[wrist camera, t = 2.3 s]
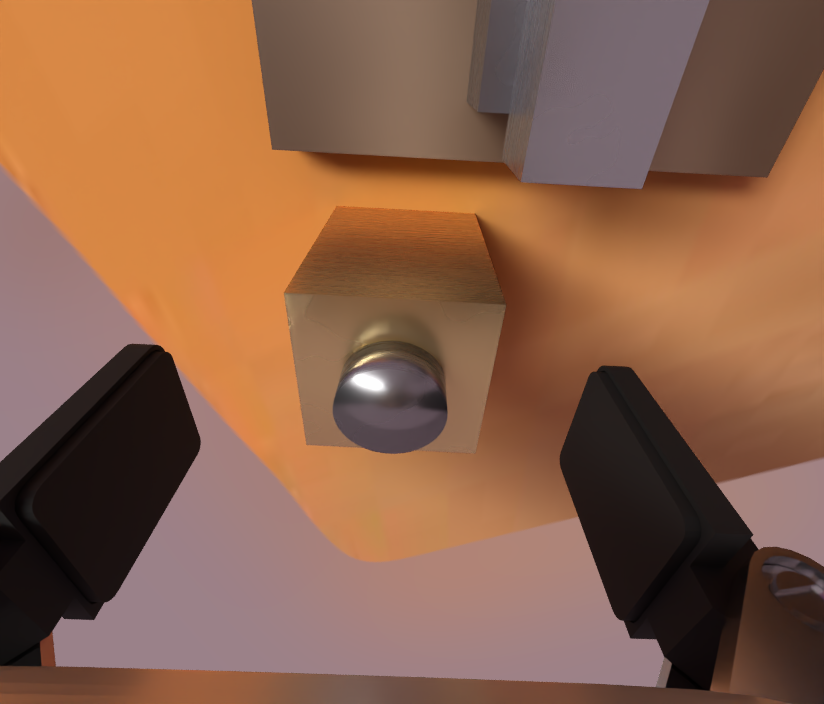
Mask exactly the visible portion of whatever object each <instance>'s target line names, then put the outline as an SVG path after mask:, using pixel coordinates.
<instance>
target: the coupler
mask: <svg viewBox="0 0 824 704" xmlns="http://www.w3.org/2000/svg"><path fill="white" fill-rule="evenodd" d="M284 297H285V303H286V310H287V317H288V323H289V330H290V337H291V344H292V350H293V357H294V364H295V371H296V377H297V384H298V391H299V397H300V404H301V411H302V418H303V424H304V431H305V438H306V445H319V446H339V447H358V448H366V449H368V450H372V451H375V452H380V453H391V454H397V453H406V452H411V451H414V450H417V451H437V452H457V453H476V448H477V444H478V439H479V434H480V429H481V424H482V419H483V415H484V410H485V405H486V400H487V395H488V391H489V386H490V381H491V376H492V371H493V367H494V362H495V357H496V352H497V347H498V342H499V338H500V333H501V328H502V323H503V318H504V314H505V309H506V302H505V299H504V297H503V294H502V291H501V288H500V285H499V282H498V279H497V276H496V273H495V270H494V267H493V264H492V262H491V259H490V256H489V253H488V250H487V247H486V244H485V241H484V238H483V235H482V232H481V229H480V227H479V224H478V221H477V218H476V215H475V214H471V213H453V212H435V211H418V210H400V209H382V208H364V207H346V206H336V208H335V210H334V211H333V213H332V214H331V216H330V218H329V219H328V221H327V223H326V224H325V226H324V228H323V229H322V231H321V233H320V234H319V236H318V237H317V239H316V241H315V242H314V244H313V246H312V247H311V249H310V251H309V252H308V254H307V256H306V257H305V259H304V261H303V262H302V264H301V265H300V267H299V269H298V270H297V272H296V274H295V275H294V277H293V279H292V280H291V282H290V284H289V285H288V287H287V288H286V290H285V292H284Z"/></svg>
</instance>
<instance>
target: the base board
mask: <svg viewBox="0 0 824 704" xmlns="http://www.w3.org/2000/svg"><path fill="white" fill-rule="evenodd" d="M252 6H253V13H254V20H255V28H256V35H257V42H258V50H259V57H260V64H261V72H262V79H263V86H264V93H265V101H266V108H267V115H268V123H269V130H270V137H271V145H272V150H290V151H307V152H325V153H343V154H360V155H378V156H396V157H413V158H431V159H449V160H466V161H484V162H502V163H505V162H504V161H503V160H502V153H503V147H504V141H505V134H506V128H507V122H508V116H509V114H505V113H488V112H477V111H476V110H475V109H474V108H473V107H472V106H471V105H469V104H468V103H467V102H466V101H467V92H468V83H469V73H470V64H471V55H472V45H473V36H474V27H475V17H476V8H477V0H252ZM823 70H824V0H710V1H709V3H708V6H707V9H706V12H705V14H704V17H703V20H702V23H701V26H700V28H699V31H698V34H697V37H696V40H695V42H694V45H693V48H692V51H691V54H690V56H689V59H688V62H687V65H686V67H685V70H684V73H683V76H682V79H681V81H680V84H679V87H678V90H677V93H676V95H675V98H674V101H673V104H672V107H671V109H670V112H669V115H668V118H667V120H666V123H665V126H664V129H663V132H662V134H661V137H660V140H659V143H658V146H657V148H656V151H655V154H654V157H653V160H652V162H651V165H650V168H649V171H661V172H678V173H696V174H714V175H731V176H749V177H766V178H767V177H768V175H769V173H770V171H771V169H772V167H773V166H774V164H775V162H776V160H777V158H778V156H779V154H780V152H781V150H782V148H783V146H784V144H785V143H786V141H787V139H788V137H789V135H790V133H791V131H792V129H793V127H794V125H795V123H796V121H797V119H798V118H799V116H800V114H801V112H802V110H803V108H804V106H805V104H806V102H807V100H808V98H809V96H810V94H811V93H812V91H813V89H814V87H815V85H816V83H817V81H818V79H819V77H820V75H821V73H822V71H823Z"/></svg>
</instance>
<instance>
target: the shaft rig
mask: <svg viewBox="0 0 824 704" xmlns="http://www.w3.org/2000/svg"><path fill="white" fill-rule="evenodd" d="M709 1H710V0H477V8H476V17H475V27H474V36H473V45H472V55H471V64H470V73H469V83H468V92H467V101H466V102H467V103H468V104H469V105H471V106H472V107H473V108H474V109H475V110H476V111H477V112H488V113H505V114H509V116H508V122H507V128H506V134H505V141H504V147H503V153H502V160H503V161H504V162H505V164H506V165H507V166H508V167H509V169H510V170H511V171H512V172H513V173H514V175H515V176H516V177H517V178H518V179H519V181H520V182H526V183H544V184H561V185H579V186H597V187H615V188H633V189H642V187H643V185H644V182H645V179H646V176H647V173H648V171H649V168H650V165H651V162H652V160H653V157H654V154H655V151H656V148H657V146H658V143H659V140H660V137H661V134H662V132H663V129H664V126H665V123H666V120H667V118H668V115H669V112H670V109H671V107H672V104H673V101H674V98H675V95H676V93H677V90H678V87H679V84H680V81H681V79H682V76H683V73H684V70H685V67H686V65H687V62H688V59H689V56H690V54H691V51H692V48H693V45H694V42H695V40H696V37H697V34H698V31H699V28H700V26H701V23H702V20H703V17H704V14H705V12H706V9H707V6H708V3H709Z"/></svg>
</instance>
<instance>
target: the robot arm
mask: <svg viewBox="0 0 824 704" xmlns="http://www.w3.org/2000/svg"><path fill="white" fill-rule="evenodd" d="M200 442H201V441H200V436H199V433H198V430H197V427H196V424H195V421H194V418H193V416H192V413H191V410H190V407H189V404H188V401H187V398H186V395H185V392H184V390H183V387H182V384H181V381H180V378H179V375H178V372H177V369H176V366H175V363H174V360H173V358H172V356H171V354H170V353H168V352H165V351H164V349H163V348H162V347H161V346H159V345H147V344H146V345H145V344H129V345H127V346H126V347H124V348H123V349H122V350H121V351H120V352H119V353H118V354H117V355H115V357H113V358H112V359H111V360H110V361H109V362H108V363H107V364H106V365H105V366H104V367H103V368H101V369H100V370H99V371H98V372H97V373H96V374H95V375H94V376H93V377H92V378H91V379H90V380H89V381H87V382H86V383H85V384H84V385H83V386H82V387H81V388H80V389H79V390H78V391H77V392H76V393H74V394H73V395H72V396H71V397H70V398H69V399H68V400H67V401H66V402H65V403H64V404H63V405H61V406H60V408H58V409H57V410H56V411H55V412H54V413H53V414H52V415H51V416H50V417H49V418H47V419H46V420H45V421H44V422H43V423H42V424H41V425H40V426H39V427H38V428H37V429H36V430H35V431H33V432H32V433H31V434H30V435H29V436H28V437H27V438H26V439H25V440H24V441H23V442H22V443H21V444H19V445H18V446H17V447H16V448H15V449H14V450H13V451H12V452H11V453H10V454H9V455H7V456H6V457H5V458H4V460H2V461H1V462H0V704H824V567H823V566H821V565H820V564H818V563H817V562H815V561H814V560H812V559H810V558H808V557H806V556H804V555H801V554H799V553H797V552H794V551H792V550H788V549H784V548H779V547H763V548H761V549H760V550H759V549H758V548H757V547H756V545H755V544H754V542H753V541H752V540H751V537H752V536H753V534H752V532H751V531H750V529H749V528H748V527H747V525H746V524H745V523H744V521H743V520H742V519H741V517H740V516H739V514H738V513H737V512H736V510H735V509H734V508H733V506H732V505H731V504H730V502H729V501H728V499H727V498H726V497H725V495H724V494H723V493H722V491H721V490H720V488H719V487H718V486H717V484H716V483H715V482H714V480H713V479H712V478H711V476H710V475H709V473H708V472H707V471H706V469H705V468H704V467H703V465H702V464H701V462H700V461H699V460H698V458H697V457H696V456H695V454H694V453H693V452H692V450H691V449H690V447H689V446H688V445H687V443H686V442H685V441H684V439H683V438H682V436H681V435H680V434H679V432H678V431H677V430H676V428H675V427H674V426H673V424H672V423H671V421H670V420H669V419H668V417H667V416H666V415H665V413H664V412H663V410H662V409H661V408H660V406H659V405H658V404H657V402H656V401H655V400H654V398H653V397H652V395H651V394H650V393H649V391H648V390H647V389H646V387H645V386H644V385H643V383H642V382H641V380H640V379H639V378H638V376H637V375H636V374H635V372H634V371H633V370H632V369H631V368H630V367H622V366H601V367H600V368H599V369H598V370H597V372H592V373H591V374H590V375H589V378H588V380H587V383H586V386H585V388H584V391H583V394H582V396H581V399H580V402H579V405H578V407H577V410H576V413H575V415H574V418H573V421H572V424H571V426H570V429H569V432H568V434H567V437H566V440H565V443H564V445H563V448H562V451H561V454H560V466H561V470H562V473H563V475H564V478H565V481H566V484H567V486H568V489H569V492H570V495H571V497H572V500H573V503H574V506H575V508H576V511H577V514H578V517H579V519H580V522H581V525H582V528H583V530H584V533H585V536H586V539H587V541H588V544H589V547H590V550H591V552H592V555H593V558H594V560H595V563H596V566H597V569H598V571H599V574H600V577H601V579H602V582H603V585H604V588H605V591H606V593H607V596H608V599H609V602H610V604H611V607H612V609H613V612H614V614H615V615H616V617H617V618H618V619H619V620H623V621H624V622H625V625H626V628H627V630H628V633H629V636H630V638H634V639H635V638H636V639H657V641H658V643H659V646H660V648H661V650H662V652H663V655H664V661H663V664H662V668H661V671H660V674H659V678H658V681H657V685H656V687H642V686H624V685H607V684H585V683H558V682H533V681H532V682H531V681H505V680H478V679H451V678H425V677H393V676H364V675H334V674H303V673H302V674H301V673H271V672H239V671H205V670H167V669H132V668H131V669H130V668H95V667H56V662H55V653H54V642H53V632H52V631H53V629H54V627H55V626H56V624H57V623H58V621H59V620H60V618H61V617H63V618H64V619H83V620H94V619H95V617H96V616H97V614H98V612H99V610H100V609H101V607H102V606H103V604H104V602H108V601H110V600H111V599H112V598H113V597H114V596H115V595H116V593H117V592H118V590H119V589H120V587H121V585H122V583H123V581H124V580H125V578H126V577H127V575H128V573H129V571H130V570H131V568H132V566H133V564H134V563H135V561H136V559H137V558H138V556H139V554H140V552H141V551H142V549H143V547H144V546H145V544H146V542H147V540H148V539H149V537H150V535H151V534H152V532H153V530H154V528H155V527H156V525H157V523H158V521H159V520H160V518H161V516H162V515H163V513H164V511H165V509H166V508H167V506H168V504H169V503H170V501H171V499H172V497H173V495H174V494H175V492H176V490H177V489H178V487H179V485H180V483H181V482H182V480H183V478H184V477H185V475H186V473H187V471H188V469H189V468H190V466H191V465H192V463H193V461H194V459H195V458H196V456H197V454H198V452H199V449H200Z"/></svg>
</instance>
